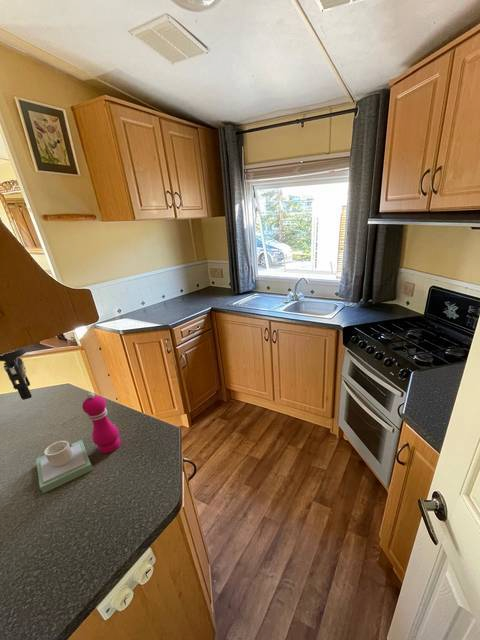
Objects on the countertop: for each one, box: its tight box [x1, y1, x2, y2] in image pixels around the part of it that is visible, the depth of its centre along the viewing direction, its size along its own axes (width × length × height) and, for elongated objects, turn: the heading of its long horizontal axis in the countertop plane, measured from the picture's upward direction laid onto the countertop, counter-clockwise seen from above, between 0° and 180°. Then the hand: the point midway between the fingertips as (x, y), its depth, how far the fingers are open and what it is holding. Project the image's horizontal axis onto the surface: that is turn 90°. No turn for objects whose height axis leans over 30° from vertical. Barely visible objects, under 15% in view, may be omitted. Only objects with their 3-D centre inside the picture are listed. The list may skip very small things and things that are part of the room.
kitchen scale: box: [35, 439, 94, 494], centre depth 84 cm, size 14×12×3 cm
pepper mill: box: [81, 392, 122, 454], centre depth 88 cm, size 7×7×20 cm
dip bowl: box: [43, 440, 73, 467], centre depth 83 cm, size 6×6×4 cm
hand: (26, 392), depth 83 cm, fingers open, 8 cm apart
